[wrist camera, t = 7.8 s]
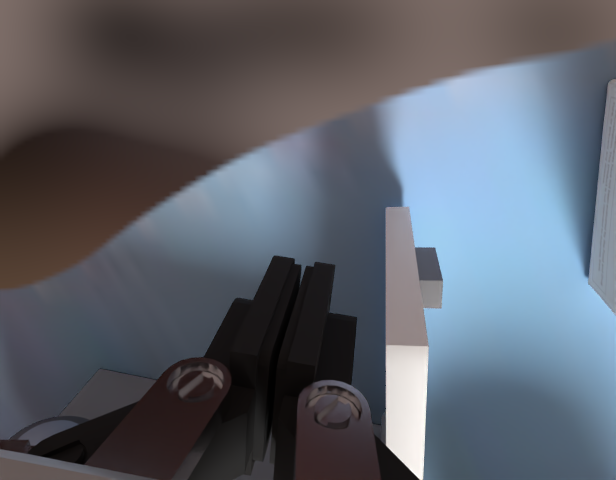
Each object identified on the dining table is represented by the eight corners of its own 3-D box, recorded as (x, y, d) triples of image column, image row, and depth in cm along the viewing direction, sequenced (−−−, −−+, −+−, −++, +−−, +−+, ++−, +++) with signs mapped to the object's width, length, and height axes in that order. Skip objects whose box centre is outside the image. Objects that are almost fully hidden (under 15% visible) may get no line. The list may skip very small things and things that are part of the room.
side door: (418, 431, 20) (439, 672, 12) (381, 428, 20) (379, 662, 13) (426, 205, 16) (464, 357, 8) (379, 206, 16) (375, 354, 9)
